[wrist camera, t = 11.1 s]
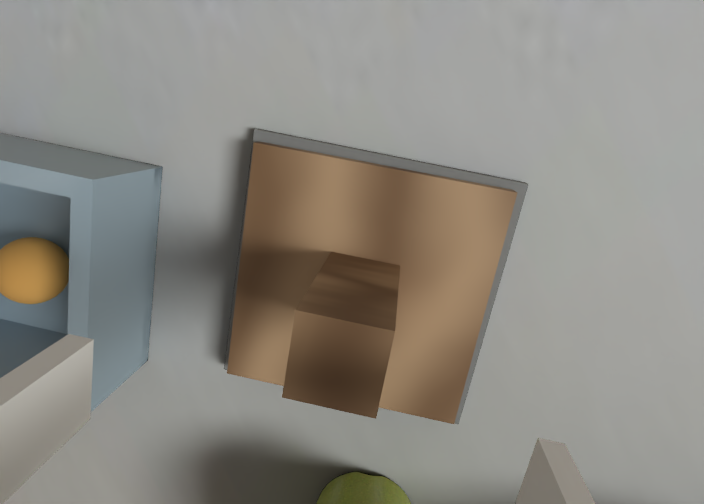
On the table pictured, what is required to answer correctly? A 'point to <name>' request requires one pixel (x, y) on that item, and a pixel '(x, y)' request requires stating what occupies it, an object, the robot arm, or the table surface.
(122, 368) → the blue shadow box
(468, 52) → the table surface
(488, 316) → the mat
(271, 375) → the lid
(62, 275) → the clementine
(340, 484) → the plant pot
